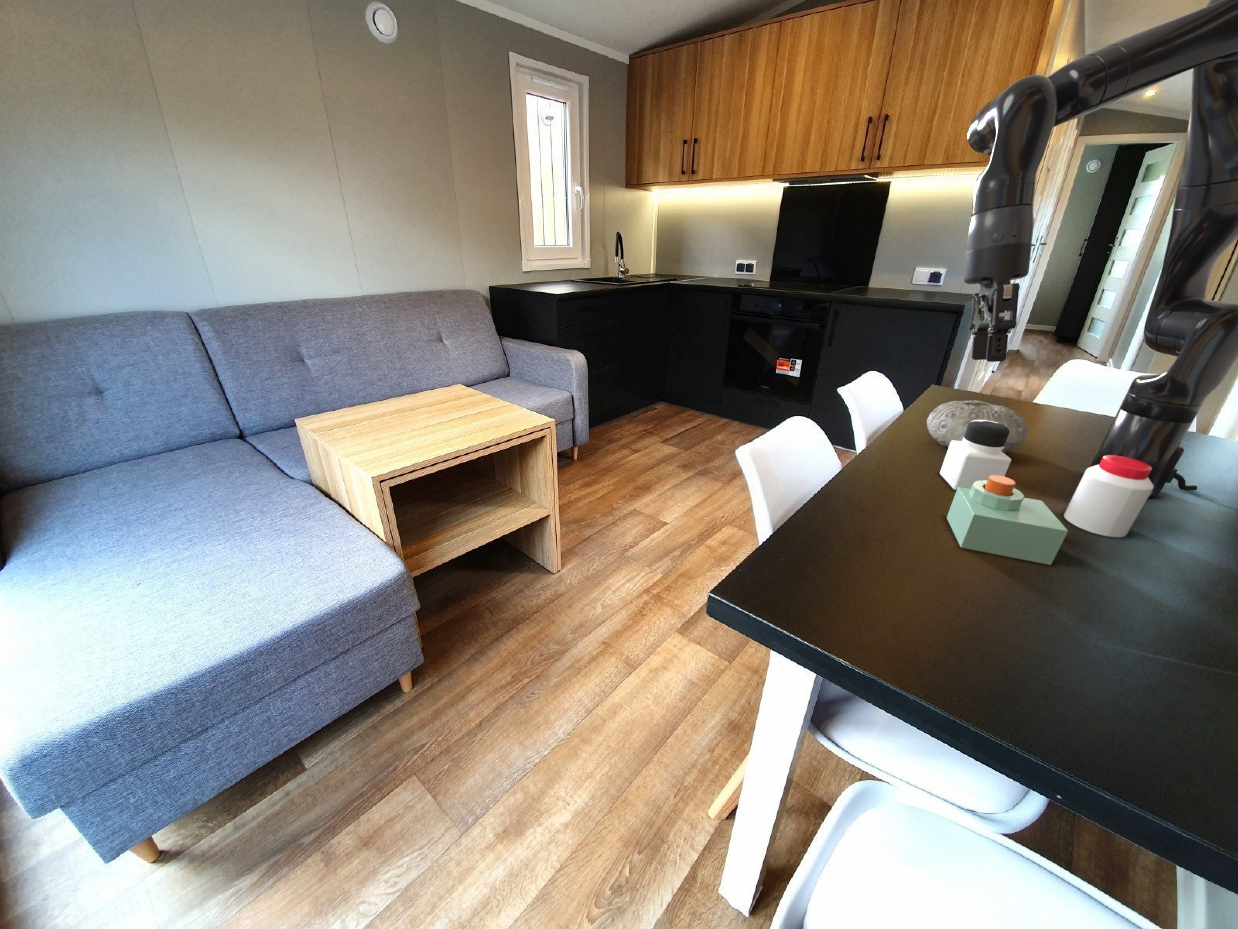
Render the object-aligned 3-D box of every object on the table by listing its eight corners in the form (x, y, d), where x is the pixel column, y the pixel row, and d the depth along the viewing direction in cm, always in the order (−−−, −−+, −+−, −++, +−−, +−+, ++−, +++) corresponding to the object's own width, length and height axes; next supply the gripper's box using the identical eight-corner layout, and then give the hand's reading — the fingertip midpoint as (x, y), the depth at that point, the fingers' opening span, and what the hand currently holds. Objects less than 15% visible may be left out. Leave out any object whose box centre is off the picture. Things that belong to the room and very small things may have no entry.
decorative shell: (915, 427, 117) (928, 387, 113) (1003, 440, 111) (1020, 398, 107) (928, 455, 102) (944, 410, 98) (1030, 471, 96) (1051, 424, 92)
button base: (1026, 532, 76) (1046, 489, 72) (1051, 565, 68) (1074, 519, 65) (946, 517, 79) (961, 476, 76) (960, 547, 71) (978, 503, 68)
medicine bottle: (997, 495, 86) (1024, 432, 81) (953, 490, 88) (976, 428, 82) (979, 478, 93) (1002, 418, 88) (938, 473, 94) (959, 414, 89)
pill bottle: (1111, 517, 81) (1143, 456, 76) (1138, 541, 74) (1176, 477, 70) (1055, 508, 83) (1083, 448, 78) (1076, 531, 76) (1109, 468, 72)
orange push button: (1006, 489, 73) (1011, 477, 72) (1013, 499, 70) (1019, 486, 69) (981, 485, 74) (986, 473, 73) (987, 494, 71) (992, 482, 70)
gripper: (1050, 232, 63) (1035, 360, 66) (1014, 250, 75) (1003, 357, 79) (979, 241, 66) (968, 364, 69) (956, 257, 78) (948, 360, 82)
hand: (987, 360), depth 74 cm, fingers open, 8 cm apart
